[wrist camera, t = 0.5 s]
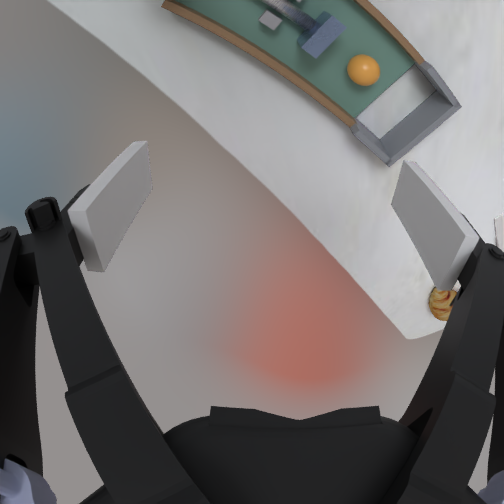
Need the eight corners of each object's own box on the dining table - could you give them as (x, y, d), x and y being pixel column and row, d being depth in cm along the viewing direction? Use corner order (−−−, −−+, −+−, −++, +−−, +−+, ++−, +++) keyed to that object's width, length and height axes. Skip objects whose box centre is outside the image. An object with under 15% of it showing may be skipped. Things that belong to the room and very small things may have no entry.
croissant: (422, 277, 74) (416, 305, 71) (455, 277, 66) (451, 307, 63) (441, 303, 85) (436, 327, 82) (469, 305, 76) (464, 330, 74)
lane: (236, -83, 17) (234, -88, 15) (417, 56, 29) (428, 64, 27) (168, 4, 26) (159, 7, 24) (347, 119, 38) (353, 131, 36)
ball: (358, 44, 29) (368, 52, 26) (380, 65, 31) (391, 75, 28) (337, 65, 31) (344, 75, 29) (359, 85, 33) (368, 97, 31)
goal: (415, 53, 29) (432, 65, 26) (444, 91, 32) (461, 106, 29) (345, 117, 38) (353, 135, 35) (378, 147, 41) (389, 167, 38)
